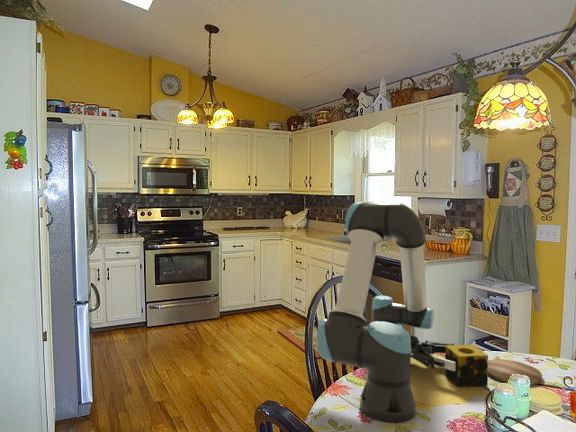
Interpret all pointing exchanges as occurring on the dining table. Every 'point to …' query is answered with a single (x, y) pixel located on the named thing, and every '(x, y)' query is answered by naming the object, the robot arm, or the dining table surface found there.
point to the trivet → (512, 370)
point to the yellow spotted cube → (467, 365)
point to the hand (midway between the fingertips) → (464, 361)
